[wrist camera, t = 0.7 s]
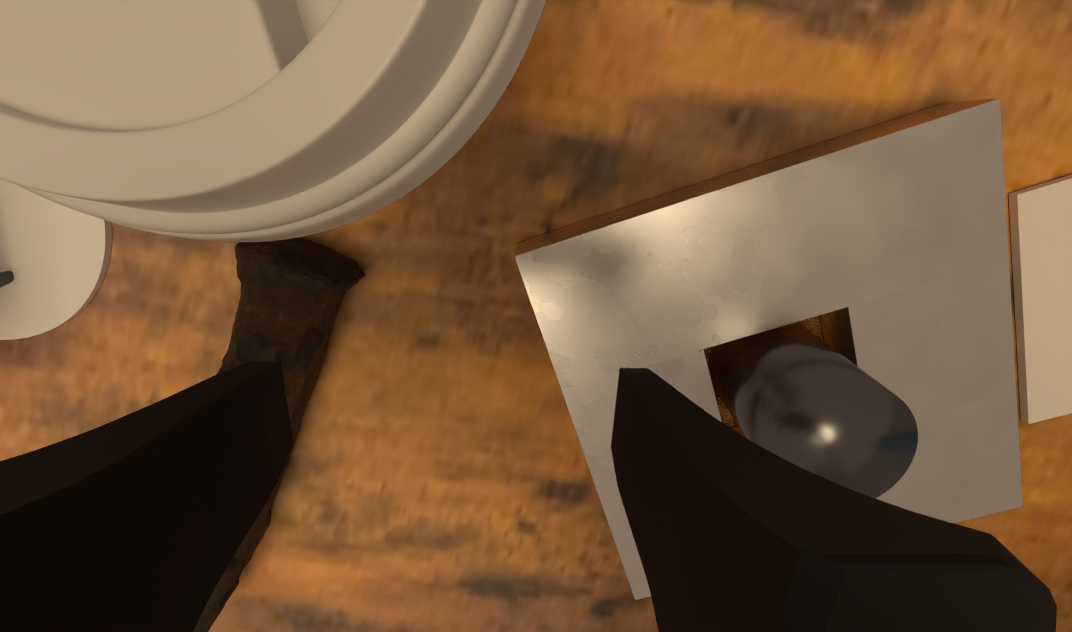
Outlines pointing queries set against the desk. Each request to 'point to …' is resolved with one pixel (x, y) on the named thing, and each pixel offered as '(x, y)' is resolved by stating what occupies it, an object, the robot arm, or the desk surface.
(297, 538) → the desk surface
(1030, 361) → the rubber pad
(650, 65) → the desk surface
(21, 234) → the panda figurine
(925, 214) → the housing block
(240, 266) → the hand tool
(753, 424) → the dark metal cylinder
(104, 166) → the coffee cup
